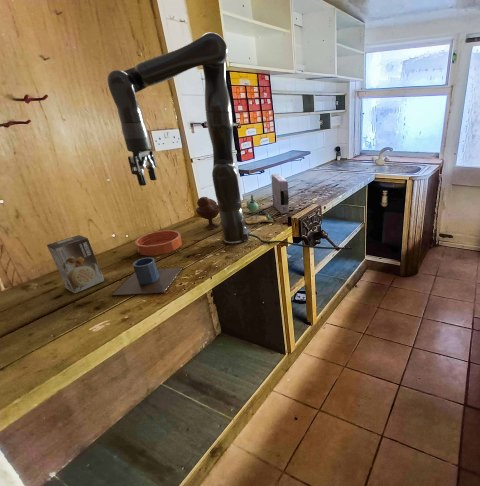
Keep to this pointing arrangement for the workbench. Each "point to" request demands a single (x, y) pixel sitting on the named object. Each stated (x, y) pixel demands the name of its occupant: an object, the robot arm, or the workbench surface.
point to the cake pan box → (280, 193)
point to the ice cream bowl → (207, 210)
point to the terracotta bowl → (158, 242)
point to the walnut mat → (157, 287)
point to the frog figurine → (255, 219)
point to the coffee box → (76, 263)
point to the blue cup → (146, 270)
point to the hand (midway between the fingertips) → (148, 182)
